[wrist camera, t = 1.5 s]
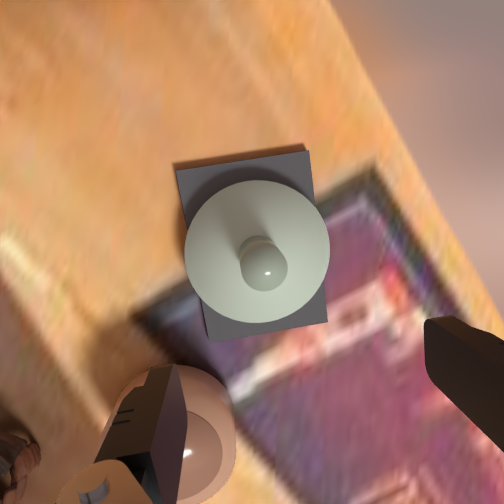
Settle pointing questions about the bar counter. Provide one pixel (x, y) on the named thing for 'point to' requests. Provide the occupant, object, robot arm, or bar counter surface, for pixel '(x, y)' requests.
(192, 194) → the mat
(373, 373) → the bar counter surface
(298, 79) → the bar counter surface
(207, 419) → the bowl
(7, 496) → the pottery mug
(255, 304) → the lid
